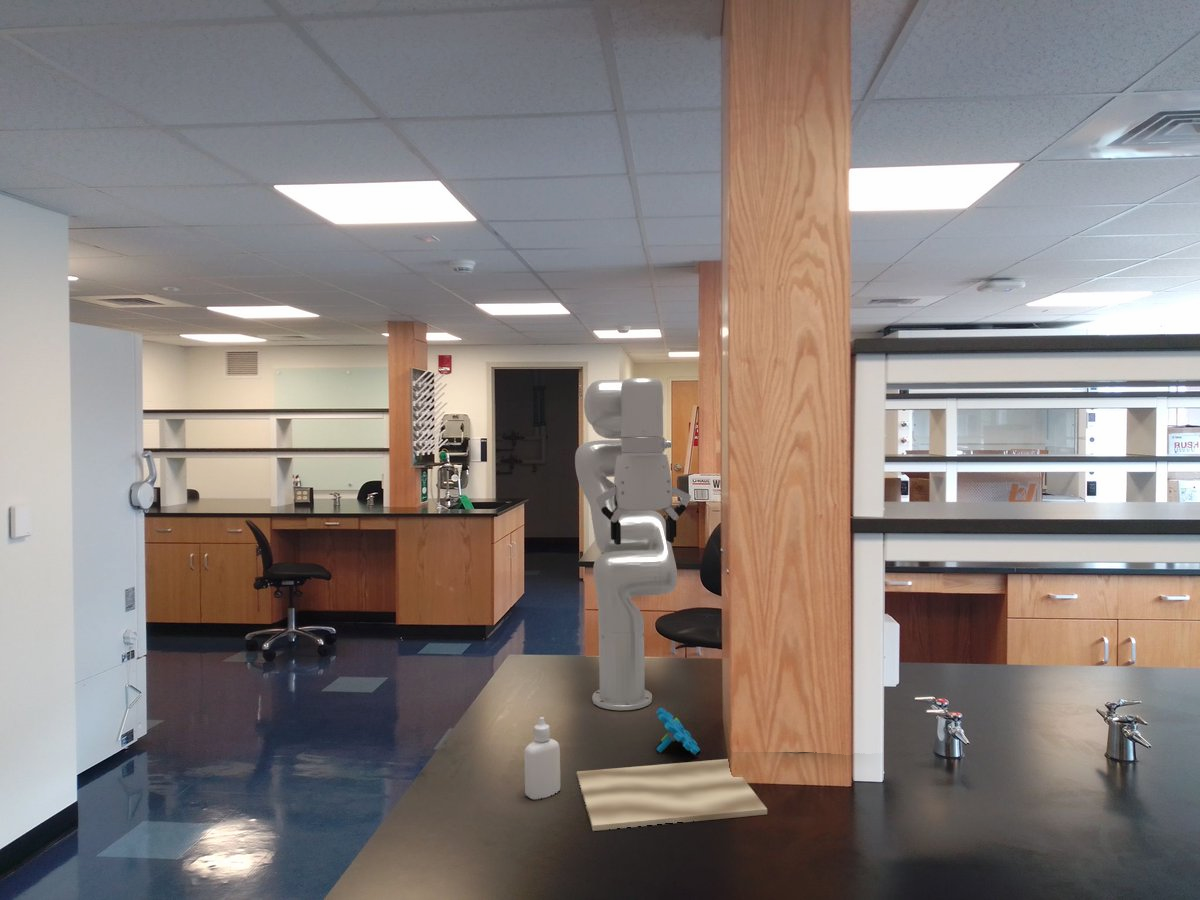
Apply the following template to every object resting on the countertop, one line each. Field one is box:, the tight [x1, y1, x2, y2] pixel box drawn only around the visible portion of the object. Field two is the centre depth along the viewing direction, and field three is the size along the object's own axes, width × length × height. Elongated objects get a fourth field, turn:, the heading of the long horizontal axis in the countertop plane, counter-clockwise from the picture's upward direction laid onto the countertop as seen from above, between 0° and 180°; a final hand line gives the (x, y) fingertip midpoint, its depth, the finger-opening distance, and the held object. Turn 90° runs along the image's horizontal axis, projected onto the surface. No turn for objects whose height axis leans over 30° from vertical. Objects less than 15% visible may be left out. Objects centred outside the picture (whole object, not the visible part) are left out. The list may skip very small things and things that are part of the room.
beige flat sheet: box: [576, 758, 768, 832], centre depth 122 cm, size 18×26×1 cm
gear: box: [655, 707, 701, 756], centre depth 139 cm, size 11×6×10 cm
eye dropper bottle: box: [524, 716, 562, 800], centre depth 123 cm, size 4×6×12 cm
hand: (643, 542), depth 140 cm, fingers open, 9 cm apart
